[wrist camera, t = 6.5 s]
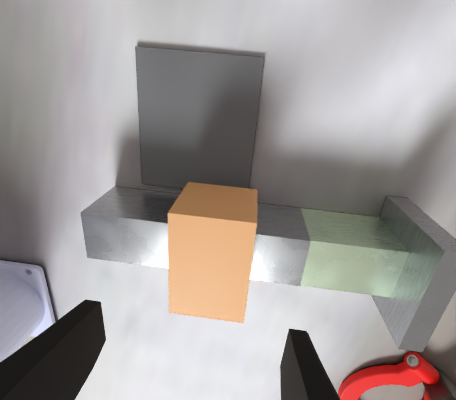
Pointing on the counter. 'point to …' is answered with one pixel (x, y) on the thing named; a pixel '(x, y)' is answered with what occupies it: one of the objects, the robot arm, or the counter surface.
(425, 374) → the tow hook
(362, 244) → the rail
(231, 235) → the peach cuboid block
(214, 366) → the counter surface
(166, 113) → the pad
